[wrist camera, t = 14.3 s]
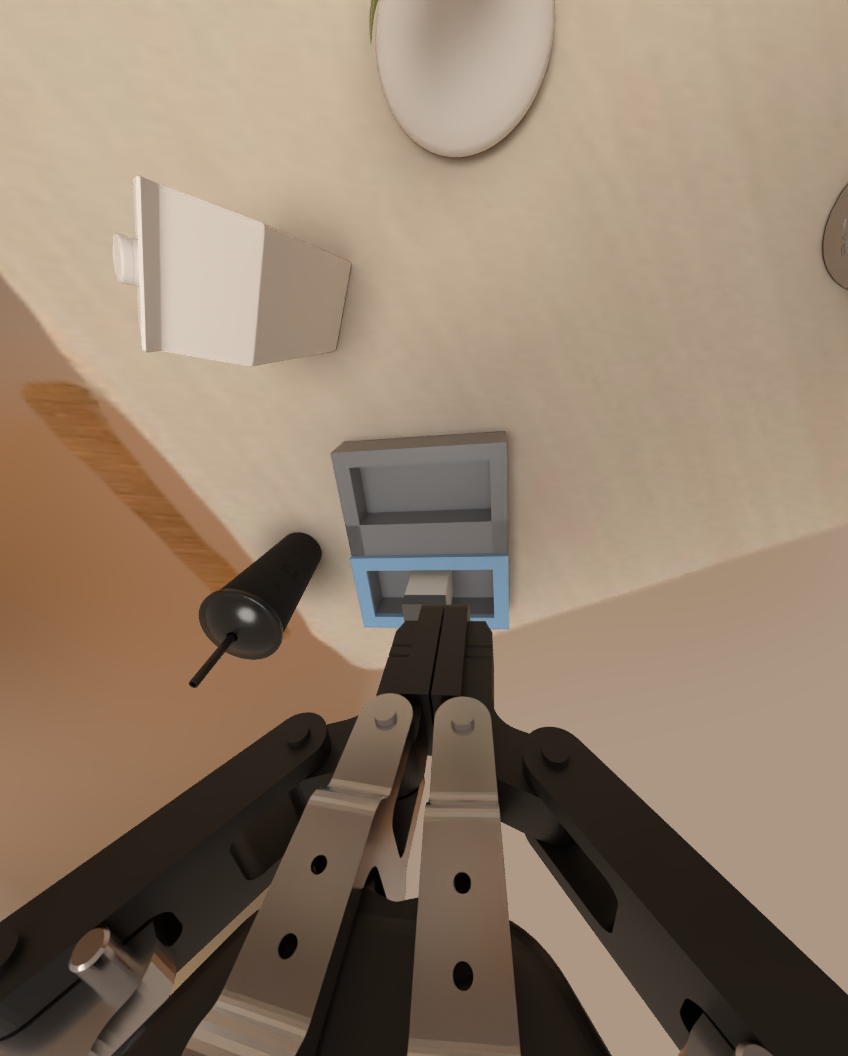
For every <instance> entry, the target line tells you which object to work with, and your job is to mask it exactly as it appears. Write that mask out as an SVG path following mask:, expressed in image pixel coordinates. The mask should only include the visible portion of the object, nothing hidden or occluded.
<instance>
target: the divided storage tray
mask: <svg viewBox="0 0 848 1056" xmlns="http://www.w3.org/2000/svg"><path fill="white" fill-rule="evenodd" d="M331 458H332V463H333V468H334V473H335V478H336V482H337V487H338V492H339V497H340V502H341V507H342V511H343V516H344V521H345V526H346V531H347V536H348V540H349V545H350V550H351V555H352V556H351V558H350V561H351V566H352V571H353V576H354V580H355V585H356V590H357V595H358V600H359V604H360V609H361V614H362V619H363V623H364V627H379V628H400V627H401V625H402V624H403V623H404V617H403V610H402V601H403V598H404V595H405V592H406V588H407V585H408V582H409V578H410V575H411V572H412V570H452V579H453V596H452V604H451V605H469V609H470V621H486V623H487V625H488V626H489V628H490V629H509V580H508V504H507V440H506V434H505V431H499V432H485V433H470V434H455V435H440V436H425V437H410V438H395V439H380V440H365V441H350V442H343V443H342V444H341V445H340V446H338V447H337V448H336V449H335V450H334V451H332V452H331Z"/></svg>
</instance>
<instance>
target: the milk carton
mask: <svg viewBox="0 0 848 1056" xmlns="http://www.w3.org/2000/svg"><path fill="white" fill-rule="evenodd" d="M133 198H134V223H135V238H130V237H128V236H125V235H121V234H115V235H114V238H113V262H114V269H115V273H116V276H117V279H118V280H119V282H121V283H123V284H128V285H134V286H137V297H138V319H139V329H140V330H141V338H142V350H143V351H145V352H154V351H164V352H170V353H175V354H181V355H187V356H193V357H198V358H204V359H210V360H216V361H221V362H227V363H233V364H239V365H244V366H250V367H252V366H256V365H261V364H267V363H272V362H278V361H283V360H289V359H294V358H300V357H305V356H311V355H316V354H322V353H327V352H333V351H335V350H336V347H337V342H338V336H339V331H340V325H341V319H342V314H343V308H344V303H345V297H346V291H347V286H348V280H349V274H350V268H351V263H350V262H349V261H346V260H344V259H342V258H340V257H337V256H335V255H333V254H331V253H328V252H326V251H324V250H322V249H319V248H317V247H315V246H313V245H310V244H308V243H306V242H304V241H302V240H299V239H297V238H295V237H293V236H290V235H288V234H286V233H284V232H281V231H279V230H277V229H275V228H272V227H270V226H268V225H266V224H264V223H261V222H259V221H256V220H253V219H251V218H248V217H245V216H243V215H240V214H237V213H235V212H232V211H229V210H227V209H224V208H221V207H219V206H216V205H214V204H211V203H208V202H206V201H203V200H200V199H198V198H195V197H192V196H190V195H187V194H184V193H182V192H179V191H176V190H174V189H171V188H168V187H166V186H163V185H161V184H158V183H155V182H153V181H151V180H148V179H146V178H144V177H141V176H139V175H137V176H136V178H133Z"/></svg>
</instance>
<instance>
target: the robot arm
mask: <svg viewBox="0 0 848 1056" xmlns="http://www.w3.org/2000/svg"><path fill="white" fill-rule="evenodd" d="M823 248H824V259H825V263H826V266H827V269H828V271H829V273H830V274H831V276H832V277H833V279H834V280H835V281H836V282H838V283H839V284H840V285H842V286H843V287H844V288H847V289H848V185H847V186H846V188H845V189H844V190H843V192H842V193H841V195H840V197H839V199H838V200H837V202H836V204H835V206H834V208H833V209H832V212H831V215H830V218H829V220H828V223H827V226H826V230H825V236H824V241H823ZM493 662H494V661H493V641H492V631H491V630H490V628H489V626H488V625H487V623H486V621H470V609H469V605H446V606H445V605H422V606H421V609H420V613H419V617H418V621H414V620H406V621H405V622H404V623H403V624H402V625H401V627H400V628H399V629H398V630H397V631H396V634H395V637H394V640H393V643H392V647H391V650H390V653H389V657H388V660H387V663H386V666H385V669H384V672H383V676H382V679H381V682H380V685H379V689H378V692H377V695H376V697H374V698H373V699H371V700H370V701H368V702H367V703H366V704H365V706H364V707H363V708H362V710H361V711H360V714H359V715H358V716H356V717H353V718H351V719H348V720H344V721H340V722H336V723H332V724H328V725H326V723H325V721H324V719H323V718H322V717H321V716H320V715H317V714H315V713H300V714H297V715H294V716H292V717H290V718H289V719H287V720H286V721H284V722H283V723H281V724H280V725H278V726H277V727H276V728H274V729H273V730H271V731H270V732H269V733H267V734H266V735H264V736H263V737H261V738H260V739H259V740H257V741H256V742H254V743H253V744H252V745H250V746H249V747H247V748H246V749H244V750H243V751H242V752H240V753H239V754H237V755H236V756H234V757H233V758H232V759H230V760H229V761H227V762H226V763H225V764H223V765H222V766H220V767H219V768H218V769H216V770H215V771H213V772H212V773H210V774H209V775H208V776H206V777H205V778H203V779H202V780H201V781H199V782H198V783H196V784H195V785H193V786H192V787H191V788H189V789H188V790H186V791H185V792H184V793H182V794H181V795H179V796H178V797H176V798H175V799H174V800H172V801H171V802H169V803H168V804H167V805H165V806H164V807H162V808H161V809H160V810H158V811H157V812H155V813H154V814H153V815H151V816H150V817H148V818H147V819H145V820H144V821H143V822H141V823H140V824H138V825H137V826H135V827H134V828H133V829H131V830H130V831H128V832H127V833H126V834H124V835H123V836H121V837H120V838H119V839H117V840H116V841H114V842H113V843H111V844H110V845H109V846H107V847H106V848H104V849H103V850H102V851H100V852H99V853H97V854H96V855H94V856H93V857H92V858H90V859H89V860H87V861H86V862H85V863H83V864H82V865H80V866H79V867H77V868H76V869H75V870H74V871H72V872H71V873H69V874H68V875H66V876H65V877H64V878H62V879H60V880H59V881H58V882H56V883H55V884H53V885H52V886H51V887H49V888H48V889H46V890H45V891H43V892H42V893H41V894H39V895H38V896H36V897H35V898H34V899H32V900H31V901H29V902H28V903H27V904H25V905H24V906H22V907H21V908H19V909H18V910H17V911H15V912H14V913H12V914H11V915H10V916H8V917H7V918H6V919H4V920H2V921H1V922H0V1056H611V1054H610V1052H609V1051H608V1049H607V1047H606V1045H605V1044H604V1042H603V1040H602V1039H601V1037H600V1035H599V1033H598V1032H597V1030H596V1029H595V1027H594V1025H593V1023H592V1022H591V1020H590V1018H589V1016H588V1015H587V1013H586V1012H585V1010H584V1008H583V1006H582V1005H581V1003H580V1001H579V1000H578V998H577V996H576V994H575V993H574V991H573V989H572V988H571V986H570V984H569V983H568V981H567V979H566V978H565V976H564V975H563V973H562V971H561V970H560V968H559V967H558V966H557V964H556V963H555V962H554V960H553V959H552V958H551V956H550V955H549V954H548V953H547V951H546V950H545V949H544V948H543V947H542V946H541V945H540V944H539V943H538V942H537V940H535V939H534V938H533V937H532V936H531V935H529V933H527V932H526V931H525V930H524V929H522V928H521V927H519V926H518V925H516V924H515V923H513V922H512V921H510V920H509V914H508V902H507V891H506V879H505V868H504V856H503V844H502V833H501V822H503V823H505V824H507V825H509V826H511V827H513V828H515V829H517V830H519V831H521V832H523V833H525V835H526V837H527V839H528V841H529V843H530V845H531V846H532V847H533V849H534V850H535V851H536V853H537V854H538V855H539V857H540V858H541V860H542V861H543V862H544V864H545V865H546V867H547V868H548V869H549V871H550V872H551V874H552V875H553V876H554V878H555V879H556V880H557V882H558V883H559V885H560V886H561V887H562V889H563V890H564V891H565V893H566V894H567V896H568V897H569V898H570V900H571V901H572V902H573V904H574V905H575V907H576V908H577V909H578V911H579V912H580V913H581V915H582V916H583V917H584V919H585V920H586V922H587V923H588V925H589V926H590V927H591V929H592V930H593V931H594V933H595V934H596V936H597V937H598V938H599V940H600V941H601V942H602V944H603V945H604V946H605V948H606V949H607V951H608V952H609V953H610V955H611V956H612V958H613V959H614V960H615V962H616V963H617V964H618V966H619V967H620V969H621V970H622V971H623V973H624V974H625V976H626V977H627V978H628V980H629V981H630V982H631V984H632V985H633V986H634V988H635V989H636V991H637V992H638V993H639V995H640V996H641V997H642V999H643V1000H644V1002H645V1003H646V1004H647V1006H648V1007H649V1009H650V1010H651V1011H652V1013H653V1014H654V1015H655V1017H656V1018H657V1019H658V1021H659V1022H660V1024H661V1025H662V1027H663V1028H664V1029H665V1031H666V1032H667V1033H668V1035H669V1036H670V1037H671V1039H672V1040H673V1042H674V1043H675V1044H676V1046H677V1047H678V1048H679V1050H680V1053H679V1055H678V1056H848V995H847V994H846V993H845V992H844V991H843V990H842V989H841V988H840V987H839V986H838V985H837V984H836V983H835V982H834V981H833V980H832V979H831V978H830V977H828V976H827V975H826V974H825V973H824V972H823V971H822V970H821V969H820V968H819V967H818V966H817V965H816V964H815V963H814V962H813V961H812V960H811V959H809V958H808V957H807V956H806V955H805V954H804V953H803V952H802V951H801V950H800V949H799V948H798V947H797V946H796V945H795V944H794V943H793V942H792V941H791V940H789V939H788V938H787V937H786V936H785V935H784V934H783V933H782V932H781V931H780V930H779V929H778V928H777V927H776V926H775V925H774V924H773V923H772V922H771V921H769V920H768V919H767V918H766V917H765V916H764V915H763V914H762V913H761V912H760V911H759V910H758V909H757V908H756V907H755V906H754V905H752V904H751V903H750V902H749V901H748V900H747V899H746V898H745V897H744V896H743V895H742V894H741V893H740V892H739V891H738V890H737V889H736V888H735V887H733V886H732V884H730V883H729V882H728V881H727V880H726V879H725V878H724V877H723V876H722V875H721V874H720V873H719V872H718V871H717V870H716V869H715V868H714V867H713V866H712V865H710V864H709V863H708V862H707V861H706V860H705V859H704V858H703V857H702V856H701V855H700V854H699V853H698V852H697V851H696V850H694V848H693V847H691V846H690V845H689V844H688V843H687V842H686V841H685V840H684V839H683V838H682V837H681V836H680V835H679V834H678V833H677V832H676V831H675V830H674V829H672V828H671V827H670V826H669V825H668V824H667V823H666V822H665V821H664V820H663V819H662V818H661V817H660V816H659V815H658V814H657V813H655V812H654V810H652V809H651V808H650V807H649V806H648V805H647V804H646V803H645V802H644V801H643V800H642V799H641V798H640V797H639V796H638V795H637V794H636V793H635V792H633V791H632V790H631V789H630V788H629V787H628V786H627V785H626V784H625V783H624V782H623V781H622V780H621V779H620V778H619V777H617V775H616V774H615V773H613V772H612V771H611V770H610V769H609V768H608V767H607V766H606V765H605V764H604V763H603V762H602V761H601V760H600V759H599V758H598V757H597V756H596V755H595V754H593V753H592V752H591V751H590V750H589V749H588V748H587V747H586V746H585V745H584V744H583V743H582V742H581V741H580V740H579V739H578V738H576V737H575V736H574V735H573V734H571V733H569V732H568V731H565V730H563V729H560V728H556V727H543V728H539V729H536V730H534V731H533V732H531V733H530V734H528V733H526V732H523V731H520V730H518V729H515V728H513V727H510V726H509V725H508V724H506V723H505V722H503V721H502V720H501V719H500V718H499V716H498V715H497V714H496V712H495V710H494V663H493ZM427 755H430V756H432V765H431V766H432V767H431V783H430V797H429V802H427V803H426V806H425V813H424V824H423V839H422V853H421V868H420V882H419V897H418V898H414V899H409V900H405V893H406V871H407V864H408V859H409V854H410V849H411V845H412V840H413V835H414V831H415V827H416V822H417V817H418V813H419V809H420V804H421V799H422V795H423V790H424V785H425V778H424V773H425V767H426V760H427ZM269 885H270V887H269V889H268V891H267V894H266V896H265V898H264V900H263V903H262V905H261V907H260V909H259V910H257V911H256V912H255V913H254V914H252V915H251V916H250V917H249V918H248V919H246V920H245V921H244V922H243V923H242V924H241V925H240V926H239V927H238V928H237V929H236V930H235V931H234V932H233V933H232V934H231V935H230V936H229V937H228V938H227V939H226V940H225V941H224V942H223V943H222V944H221V945H220V946H219V947H218V948H217V949H216V950H215V951H214V952H213V953H212V954H211V955H210V956H209V957H208V958H207V959H206V960H205V961H204V962H203V963H202V964H201V965H200V966H199V967H198V968H197V969H196V970H195V972H194V973H192V974H191V975H190V976H189V978H188V979H187V980H185V981H184V983H182V985H181V986H180V987H179V988H178V989H177V990H176V991H175V992H174V993H173V994H172V995H171V996H170V992H171V990H172V987H173V984H174V980H175V977H176V973H177V972H178V971H179V970H180V969H181V968H182V967H183V966H185V964H187V962H189V961H190V960H191V959H192V958H193V957H194V956H195V955H196V954H197V953H198V952H199V951H200V950H201V949H203V948H204V947H205V946H206V945H207V944H208V943H209V942H210V941H211V940H212V939H213V938H214V937H215V936H216V935H217V934H219V933H220V932H221V931H222V930H223V929H224V928H225V927H226V926H227V925H228V924H229V923H230V922H231V921H232V920H233V919H234V918H236V917H237V916H238V915H239V914H240V913H241V912H242V911H243V910H244V909H245V908H246V907H247V906H248V905H249V904H250V903H251V902H253V901H254V900H255V899H256V898H257V897H258V896H259V895H260V894H261V893H262V892H263V891H264V890H265V889H266V888H267V887H268V886H269Z"/></svg>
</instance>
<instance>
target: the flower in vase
mask: <svg viewBox="0 0 848 1056" xmlns="http://www.w3.org/2000/svg"><path fill="white" fill-rule="evenodd" d="M377 1H378V0H372V1H371V8H370V24H369V26H370V41H371V39H372V26H373V19H374V13H375V9H376V5H377ZM554 24H555V5H554V0H380V4H379V10H378V16H377V25H376V58H377V67H378V73H379V78H380V83H381V86H382V89H383V93H384V96H385V99H386V101H387V103H388V106H389V108H390V110H391V112H392V114H393V116H394V117H395V119H396V121H397V122H398V124H399V125H400V126H401V128H402V129H403V131H404V132H405V133H406V134H407V135H408V136H409V137H410V138H411V139H412V140H413V141H415V142H416V143H417V144H418V145H420V146H421V147H423V148H425V149H426V150H428V151H430V152H432V153H435V154H438V155H441V156H447V157H465V156H470V155H474V154H477V153H480V152H483V151H485V150H486V149H488V148H490V147H492V146H494V145H495V144H497V143H498V142H499V141H501V140H502V139H503V138H504V137H506V136H507V135H508V134H509V133H510V132H511V131H512V130H513V129H514V128H515V127H516V125H517V124H518V123H519V122H520V121H521V120H522V118H523V117H524V115H525V114H526V112H527V111H528V109H529V108H530V106H531V104H532V102H533V101H534V99H535V97H536V95H537V93H538V91H539V88H540V86H541V84H542V81H543V79H544V76H545V72H546V69H547V66H548V63H549V58H550V54H551V49H552V44H553V36H554Z"/></svg>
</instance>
